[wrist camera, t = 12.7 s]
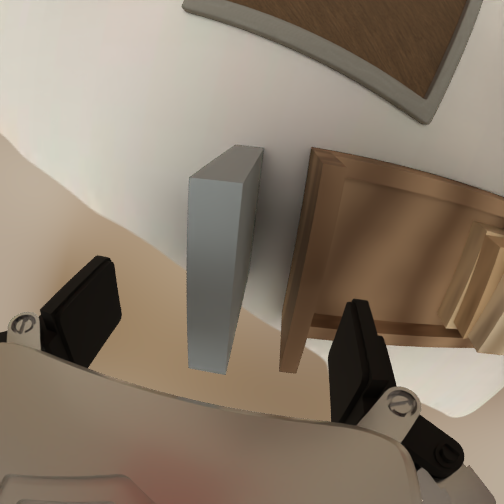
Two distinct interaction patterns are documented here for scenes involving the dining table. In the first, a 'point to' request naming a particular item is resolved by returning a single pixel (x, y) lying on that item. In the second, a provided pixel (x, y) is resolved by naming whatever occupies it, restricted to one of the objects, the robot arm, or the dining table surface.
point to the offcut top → (490, 325)
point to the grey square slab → (219, 252)
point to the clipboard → (365, 40)
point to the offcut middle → (481, 284)
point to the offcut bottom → (465, 271)
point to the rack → (378, 250)
